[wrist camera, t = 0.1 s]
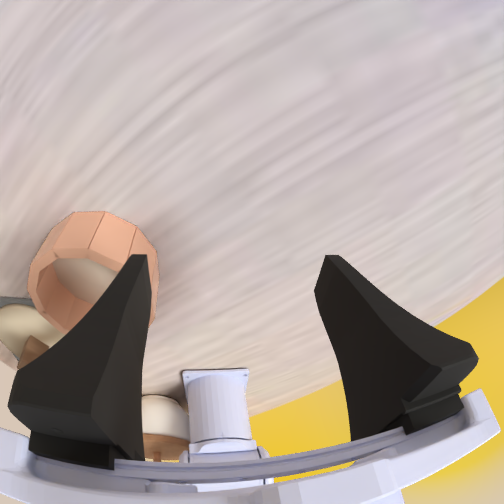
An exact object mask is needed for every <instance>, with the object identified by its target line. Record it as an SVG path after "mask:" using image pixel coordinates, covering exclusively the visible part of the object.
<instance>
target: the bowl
mask: <svg viewBox="0 0 504 504" xmlns="http://www.w3.org/2000/svg"><path fill="white" fill-rule="evenodd" d="M132 254H147V259H148V267H149V275H150V282H151V290H152V299H151V315H150V321H149V326H150V325H151V323H152V322H153V321H154V319H155V312H156V303H157V294H158V285H159V268H158V259H157V252H156V250H155V249H154V247H153V246H152V245H151V244H150V242H149V241H148V240H147V239H146V237H145V236H144V235H143V234H142V232H141V231H140V230H139V228H138V227H136V226H135V225H133V224H131V223H129V222H127V221H125V220H123V219H120V218H118V217H116V216H114V215H112V214H110V213H108V212H105V211H99V212H74V213H72V214H71V215H69V216H68V217H67V218H65V219H64V220H63V221H61V222H60V223H59V224H57V225H56V226H55V227H53V228H52V230H51V231H50V233H49V234H48V236H47V238H46V239H45V241H44V243H43V244H42V246H41V248H40V249H39V251H38V253H37V254H36V256H35V258H34V260H33V261H32V263H31V265H30V271H29V277H28V284H27V290H28V292H29V294H30V297H31V299H32V301H33V303H34V305H35V307H36V309H37V311H38V313H39V314H40V315H41V316H42V317H43V318H45V319H46V320H47V321H48V322H49V323H50V324H51V325H53V326H54V327H55V328H56V329H57V330H58V331H60V332H62V333H63V334H65V335H66V334H67V333H68V332H69V331H70V330H71V329H72V328H73V327H74V326H75V325H76V324H77V323H78V322H79V321H80V320H81V319H82V318H83V317H84V316H85V315H86V314H87V312H88V311H89V310H90V309H91V308H92V307H93V306H94V304H95V303H96V302H97V301H98V299H99V298H100V297H101V296H102V294H103V293H104V292H105V291H106V289H107V288H108V286H109V285H110V284H111V282H112V281H113V280H114V278H115V277H116V276H117V274H118V273H119V271H120V270H121V268H122V267H123V265H124V264H125V262H126V261H127V260H128V258H129V257H130V256H131V255H132ZM148 328H149V327H148Z"/></svg>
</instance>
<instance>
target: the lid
mask: <svg viewBox="0 0 504 504" xmlns="http://www.w3.org/2000/svg"><path fill="white" fill-rule="evenodd" d="M64 336H65V334H63V333H62V332H60V331H58V330H57V329H56V328H55V327H54V326H53V325H51V324H50V323H49V322H48V321H47V320H46V319H45V318H43V317H42V316H41V315H40V314H39V313H38V311H37V309H36V308H35V307H32V306H29V305H25V304H18V303H12V304H7V305H4V306H2V307H1V308H0V340H1V341H2V343H3V344H4V345H5V346H6V347H7V348H8V349H9V350H10V351H11V352H12V353H13V354H15V355H16V356H17V357H19V358H20V359H19V362H18V366H17V368H18V369H21V368H23V367H24V366H26V365H27V364H29V363H30V362H32V361H33V360H35V359H36V358H38V357H39V356H40V355H42V354H43V353H44V352H46V351H47V350H48V349H49V348H51V347H52V346H53V345H54V344H56V343H57V342H58V341H59V340H60V339H61V338H63V337H64Z"/></svg>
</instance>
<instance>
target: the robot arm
mask: <svg viewBox="0 0 504 504" xmlns="http://www.w3.org/2000/svg"><path fill="white" fill-rule="evenodd" d="M314 293H315V297H316V302H317V306H318V310H319V313H320V316H321V318H322V321H323V323H324V326H325V329H326V331H327V334H328V336H329V339H330V341H331V344H332V347H333V349H334V352H335V355H336V358H337V361H338V364H339V368H340V372H341V377H342V381H343V386H344V391H345V395H346V402H347V408H348V415H349V424H350V433H351V442H348V443H344V444H340V445H336V446H331V447H327V448H322V449H317V450H312V451H307V452H301V453H295V454H289V455H283V456H276V457H270V456H269V454H268V452H267V451H266V450H265V449H264V448H263V447H262V446H257V445H256V441H255V440H252V434H251V428H250V422H249V416H248V410H247V403H246V397H245V391H246V387H247V382H248V377H249V370H248V369H230V370H199V371H183V373H182V375H183V382H184V388H185V394H186V399H187V404H188V409H189V428H190V444H189V451H188V450H185V451H183V453H182V454H181V455H180V456H179V463H172V462H148V461H145V454H144V443H143V428H142V367H143V358H144V352H145V345H146V339H147V333H148V327H149V321H150V315H151V299H152V290H151V282H150V275H149V267H148V259H147V254H132V255H131V256H130V257H129V258H128V260H127V261H126V262H125V264H124V265H123V267H122V268H121V270H120V271H119V273H118V274H117V276H116V277H115V278H114V280H113V281H112V282H111V284H110V285H109V286H108V288H107V289H106V291H105V292H104V293H103V294H102V296H101V297H100V298H99V299H98V301H97V302H96V303H95V304H94V306H93V307H92V308H91V309H90V310H89V311H88V312H87V314H86V315H85V316H84V317H83V318H82V319H81V320H80V321H79V322H78V323H77V324H76V325H75V326H74V327H73V328H72V329H71V330H70V331H69V332H68V333H67V334H66V335H65V336H64V337H63V338H61V339H60V340H59V341H58V342H57V343H56V344H54V345H53V346H52V347H51V348H49V349H48V350H47V351H46V352H44V353H43V354H42V355H40V356H39V357H38V358H36V359H35V360H33V361H32V362H30V363H29V364H27V365H26V366H24V367H23V368H21V369H19V370H18V371H17V373H16V376H15V379H14V382H13V385H12V389H11V393H10V397H9V402H8V408H9V410H10V412H11V413H12V414H13V415H14V416H15V417H16V418H17V419H18V420H19V421H20V422H22V423H23V424H24V425H25V426H26V427H28V428H29V429H30V430H31V435H30V438H29V437H27V436H25V435H22V434H20V433H16V432H13V431H10V430H6V429H3V428H0V493H1V494H4V495H6V496H8V497H11V498H13V499H16V500H19V501H21V502H24V503H27V504H404V499H403V496H402V493H401V490H400V489H402V488H404V487H407V486H409V485H411V484H413V483H415V482H417V481H420V480H422V479H424V478H425V477H428V476H430V475H431V474H433V473H435V472H437V471H439V470H441V469H443V468H444V467H446V466H448V465H450V464H452V463H453V462H455V461H457V460H458V459H460V458H462V457H463V456H465V455H466V454H468V453H469V452H471V451H473V450H474V449H476V448H477V447H479V446H480V445H482V444H483V443H485V442H486V441H488V440H489V439H491V438H492V437H494V436H495V435H496V434H498V433H499V432H500V431H501V429H500V427H499V425H498V422H497V420H496V418H495V416H494V414H493V412H492V410H491V407H490V405H489V403H488V401H487V399H486V397H485V395H484V393H483V391H482V390H481V389H477V390H475V391H473V392H471V393H469V394H467V395H465V396H464V397H462V398H461V399H460V397H459V395H458V393H460V392H461V388H460V386H459V383H460V382H461V381H462V380H463V379H464V378H465V377H466V376H467V375H468V374H469V373H470V372H471V371H472V370H473V369H474V368H475V366H476V365H477V363H478V359H479V358H478V356H477V355H476V353H475V351H474V349H473V348H472V346H471V344H470V343H468V342H465V341H463V340H460V339H458V338H455V337H453V336H450V335H448V334H446V333H444V332H442V331H440V330H437V329H436V328H434V327H432V326H430V325H428V324H427V323H425V322H423V321H422V320H420V319H418V318H417V317H415V316H413V315H412V314H410V313H409V312H407V311H406V310H405V309H403V308H402V307H400V306H399V305H397V304H396V303H395V302H393V301H392V300H391V299H390V298H388V297H387V296H386V295H385V294H383V293H382V292H381V291H380V290H379V289H377V288H376V287H375V286H374V285H373V284H372V283H370V282H369V281H368V280H367V279H366V278H365V277H364V276H363V275H361V274H360V273H359V272H358V271H357V270H356V269H355V268H354V267H352V266H351V265H350V264H349V263H348V262H347V261H345V260H344V259H343V258H342V257H340V256H339V255H325V259H324V262H323V265H322V268H321V271H320V274H319V277H318V280H317V283H316V286H315V289H314ZM361 458H362V459H361ZM358 459H359V460H358ZM354 460H357V461H355V462H354V463H353V465H351V466H350V467H347V468H344V469H340V470H336V471H332V472H328V473H323V474H319V475H314V476H310V477H305V478H299V479H294V480H289V481H284V482H278V483H274V478H275V477H282V476H288V475H294V474H299V473H305V472H309V471H314V470H319V469H323V468H328V467H332V466H336V465H340V464H344V463H347V462H351V461H354Z"/></svg>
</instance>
